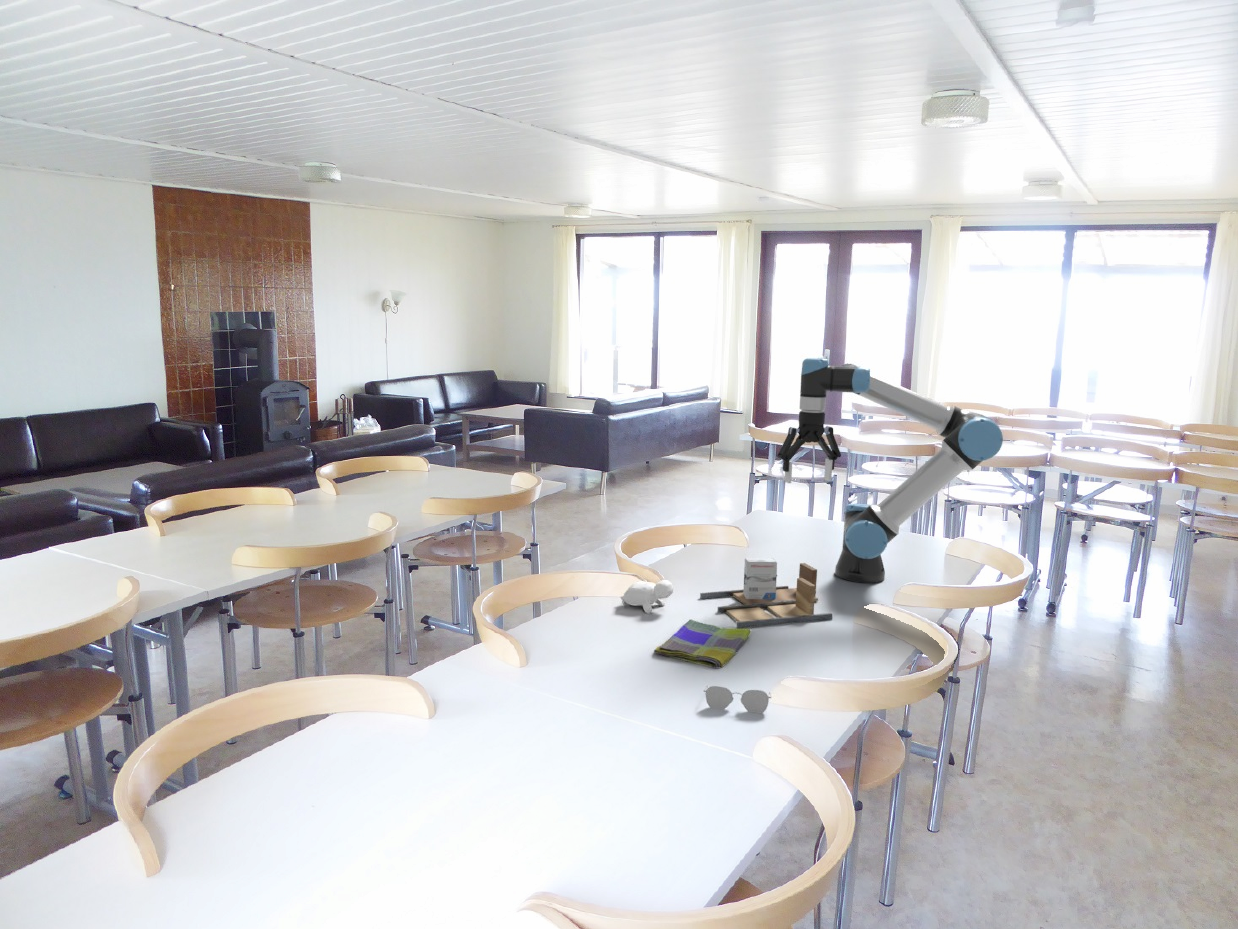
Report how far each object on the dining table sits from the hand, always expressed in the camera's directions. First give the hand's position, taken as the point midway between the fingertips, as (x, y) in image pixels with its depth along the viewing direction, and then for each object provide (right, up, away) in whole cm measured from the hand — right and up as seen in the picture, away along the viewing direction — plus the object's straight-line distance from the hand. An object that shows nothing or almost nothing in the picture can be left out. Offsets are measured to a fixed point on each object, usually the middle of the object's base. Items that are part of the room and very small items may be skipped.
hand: (807, 481), depth 253 cm
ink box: (-17, -34, -11) cm, 39 cm away
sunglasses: (-32, -45, -76) cm, 94 cm away
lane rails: (-16, -35, -18) cm, 43 cm away
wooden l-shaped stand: (-15, -36, -24) cm, 46 cm away
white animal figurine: (-49, -35, -19) cm, 63 cm away
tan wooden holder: (-12, -34, -10) cm, 37 cm away
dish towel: (-36, -40, -46) cm, 70 cm away
